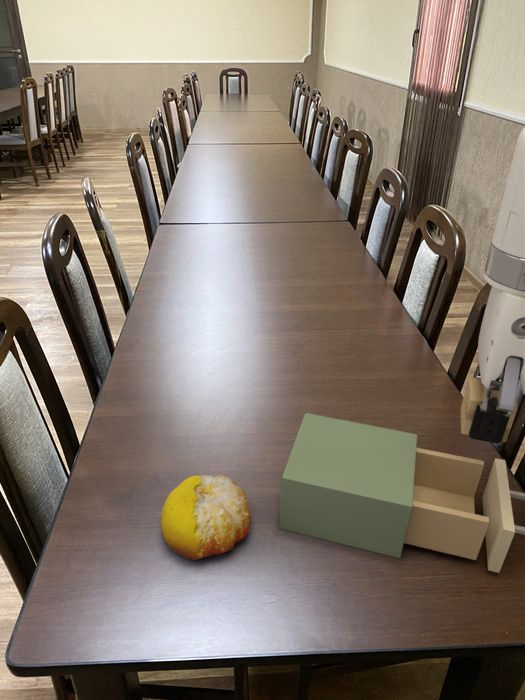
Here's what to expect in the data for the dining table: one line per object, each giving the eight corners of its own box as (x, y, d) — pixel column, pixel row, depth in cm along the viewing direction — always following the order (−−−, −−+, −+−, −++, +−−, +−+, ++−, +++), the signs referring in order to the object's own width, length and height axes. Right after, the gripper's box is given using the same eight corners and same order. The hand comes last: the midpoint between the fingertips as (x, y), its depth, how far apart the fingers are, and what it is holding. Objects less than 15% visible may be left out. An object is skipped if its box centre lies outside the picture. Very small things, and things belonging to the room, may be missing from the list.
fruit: (232, 581, 59) (210, 528, 56) (156, 567, 64) (132, 517, 60) (270, 508, 68) (253, 458, 64) (201, 500, 73) (182, 453, 69)
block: (502, 416, 60) (513, 383, 57) (506, 442, 56) (517, 408, 54) (460, 409, 61) (469, 376, 58) (461, 433, 57) (470, 399, 55)
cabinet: (406, 483, 73) (417, 434, 68) (400, 558, 62) (412, 506, 58) (301, 460, 76) (305, 412, 72) (278, 528, 66) (281, 477, 61)
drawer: (539, 509, 68) (555, 470, 65) (554, 586, 59) (574, 545, 55) (386, 476, 72) (393, 438, 69) (377, 543, 63) (385, 502, 60)
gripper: (596, 314, 41) (529, 486, 50) (559, 241, 55) (512, 387, 64) (492, 300, 43) (446, 469, 52) (481, 233, 57) (447, 376, 66)
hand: (483, 422), depth 58 cm, fingers closed on block, 4 cm apart
